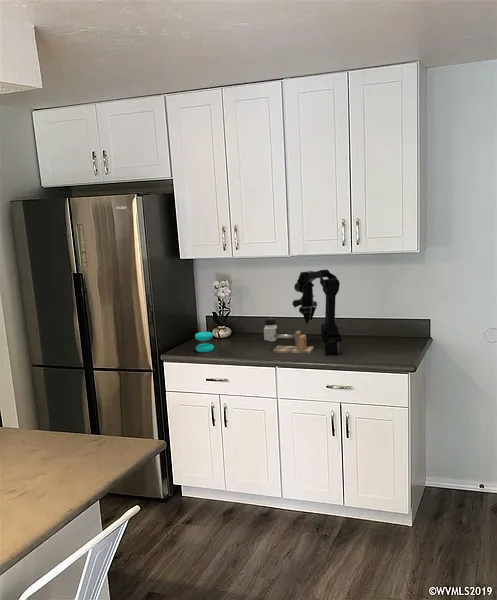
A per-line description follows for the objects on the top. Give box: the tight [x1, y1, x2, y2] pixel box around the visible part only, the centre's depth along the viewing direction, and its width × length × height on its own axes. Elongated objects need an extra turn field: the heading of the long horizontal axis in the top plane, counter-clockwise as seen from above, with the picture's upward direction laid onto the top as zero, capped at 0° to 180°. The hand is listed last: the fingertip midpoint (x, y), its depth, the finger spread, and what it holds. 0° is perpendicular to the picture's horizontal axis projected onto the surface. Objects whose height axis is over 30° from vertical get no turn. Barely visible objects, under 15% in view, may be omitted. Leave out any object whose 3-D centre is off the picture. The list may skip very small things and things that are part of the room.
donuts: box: [194, 331, 215, 353], centre depth 338 cm, size 10×10×10 cm
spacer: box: [299, 334, 308, 350], centre depth 324 cm, size 2×7×7 cm, turn 162°
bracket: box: [272, 330, 314, 355], centre depth 326 cm, size 20×10×10 cm, turn 72°
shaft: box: [268, 331, 295, 342], centre depth 327 cm, size 14×4×5 cm, turn 72°
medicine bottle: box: [263, 318, 279, 341], centre depth 356 cm, size 7×7×12 cm
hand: (308, 321), depth 336 cm, fingers open, 9 cm apart
